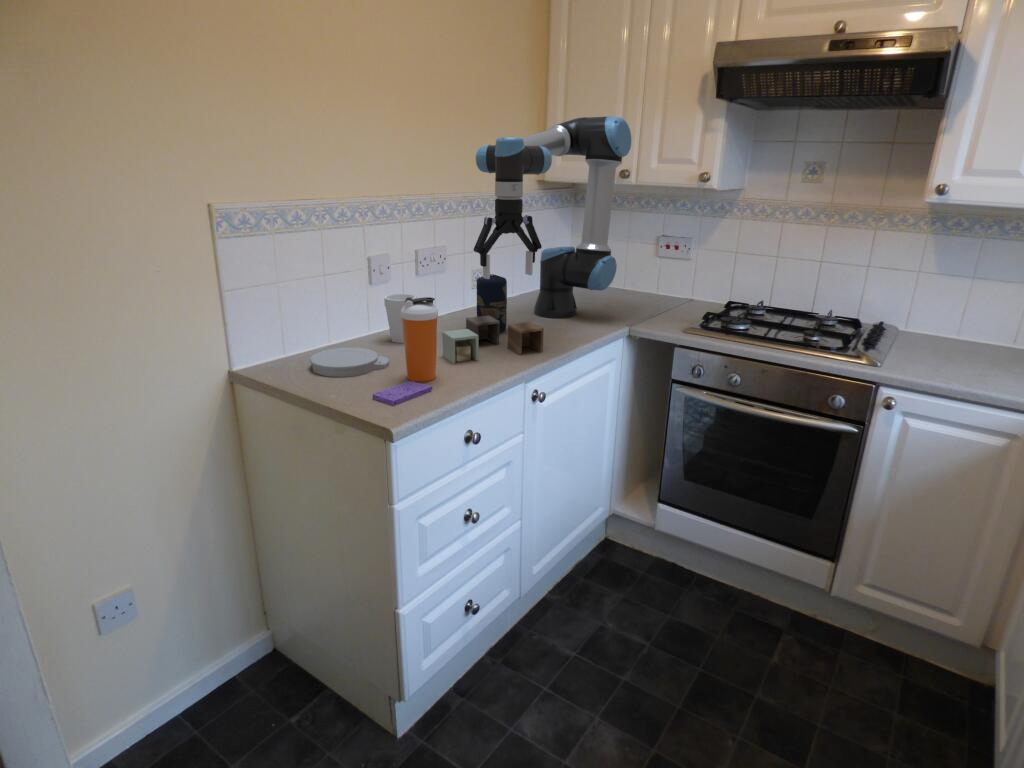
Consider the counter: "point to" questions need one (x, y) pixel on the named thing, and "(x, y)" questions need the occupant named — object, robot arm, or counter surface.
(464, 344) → the maple cube
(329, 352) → the lid
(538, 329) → the cover walnut
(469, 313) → the counter surface
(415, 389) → the sponges
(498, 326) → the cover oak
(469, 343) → the cover green
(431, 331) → the shaker bottle
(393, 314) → the foam cup
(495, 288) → the canister
